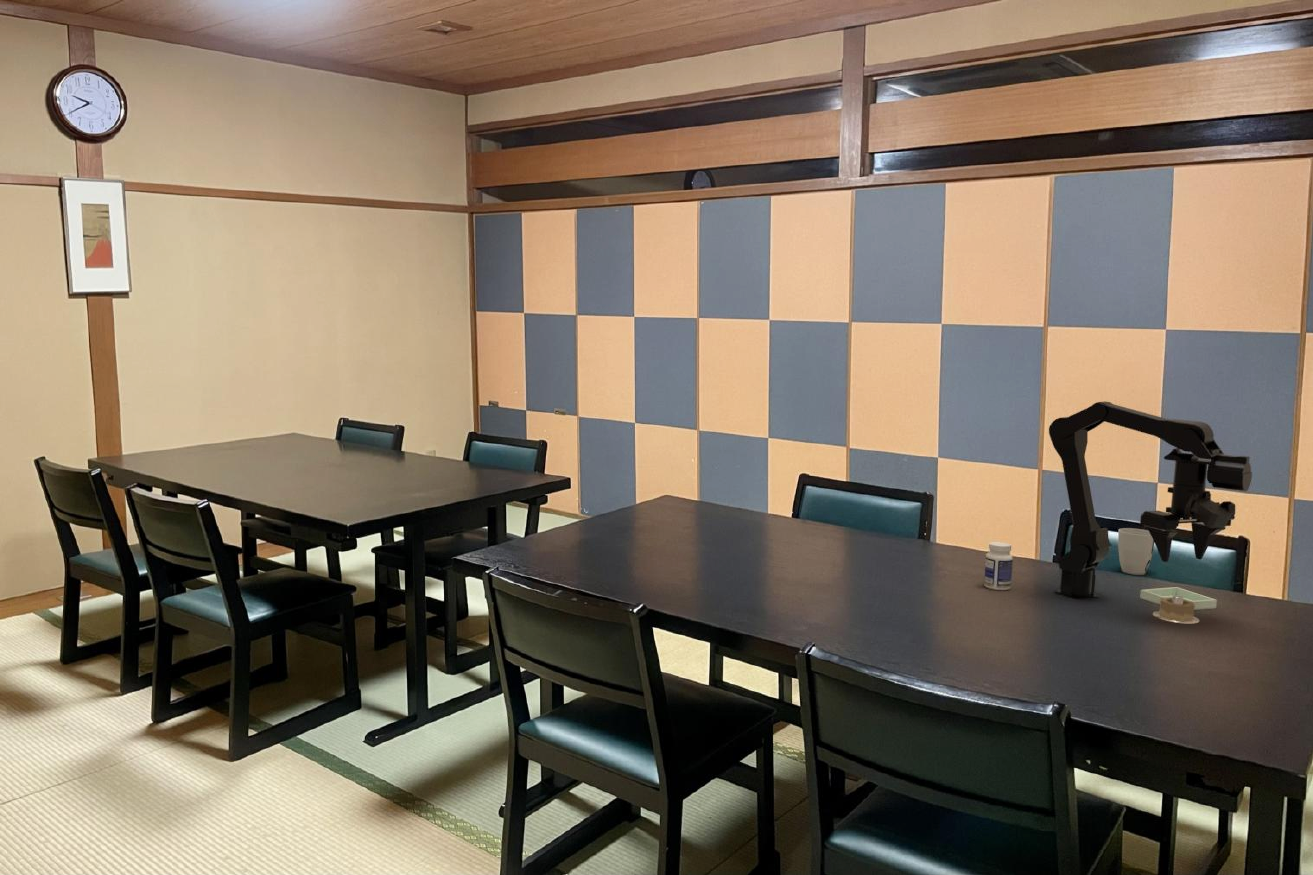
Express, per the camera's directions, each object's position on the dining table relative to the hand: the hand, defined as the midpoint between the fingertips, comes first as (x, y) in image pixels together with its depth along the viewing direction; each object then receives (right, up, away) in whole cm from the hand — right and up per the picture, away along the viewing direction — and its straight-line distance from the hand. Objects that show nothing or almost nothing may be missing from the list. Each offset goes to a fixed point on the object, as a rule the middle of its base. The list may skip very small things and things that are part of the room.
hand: (1182, 560), depth 199 cm
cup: (+9, -8, +39) cm, 41 cm away
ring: (-1, -12, +1) cm, 12 cm away
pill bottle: (-30, -9, +21) cm, 38 cm away
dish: (+5, -11, +11) cm, 17 cm away
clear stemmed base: (-1, -12, +1) cm, 12 cm away
